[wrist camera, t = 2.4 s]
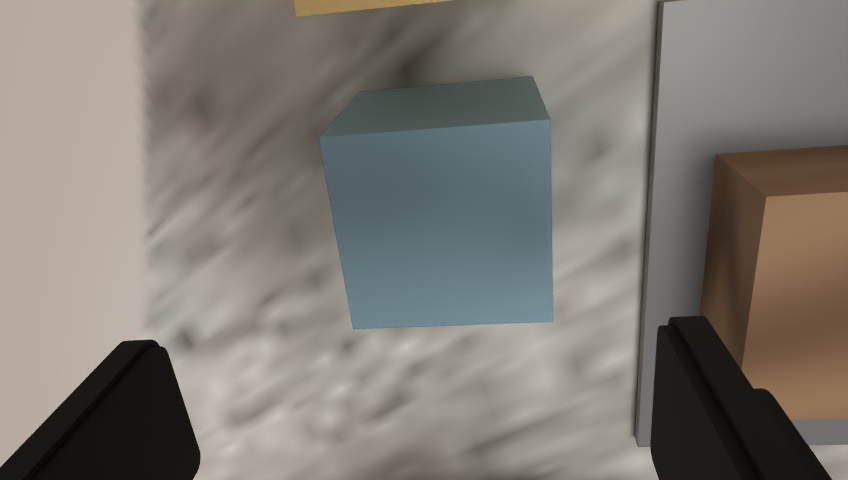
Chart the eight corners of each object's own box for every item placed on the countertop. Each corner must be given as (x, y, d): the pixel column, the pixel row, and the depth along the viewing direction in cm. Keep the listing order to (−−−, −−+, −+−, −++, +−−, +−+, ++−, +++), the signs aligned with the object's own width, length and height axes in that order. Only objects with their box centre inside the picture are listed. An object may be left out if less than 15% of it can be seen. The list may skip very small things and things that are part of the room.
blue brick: (360, 91, 21) (318, 137, 16) (532, 76, 20) (549, 119, 15) (382, 244, 24) (353, 329, 18) (536, 235, 23) (553, 321, 18)
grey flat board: (658, 1, 19) (664, 2, 18) (1086, -43, 18) (1106, -43, 17) (634, 437, 26) (638, 446, 26) (932, 432, 25) (942, 443, 24)
